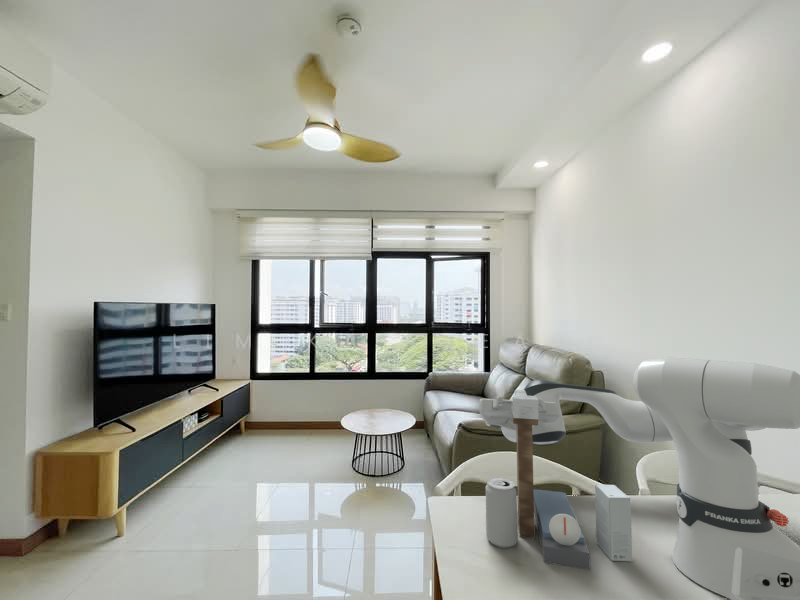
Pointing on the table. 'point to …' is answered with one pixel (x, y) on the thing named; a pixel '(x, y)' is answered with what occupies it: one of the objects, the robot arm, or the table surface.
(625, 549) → the skincare box
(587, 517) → the table surface
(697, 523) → the robot arm
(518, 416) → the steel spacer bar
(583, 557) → the platform scale
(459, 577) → the table surface
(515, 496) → the beverage can
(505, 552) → the table surface
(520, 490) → the walnut post stand
